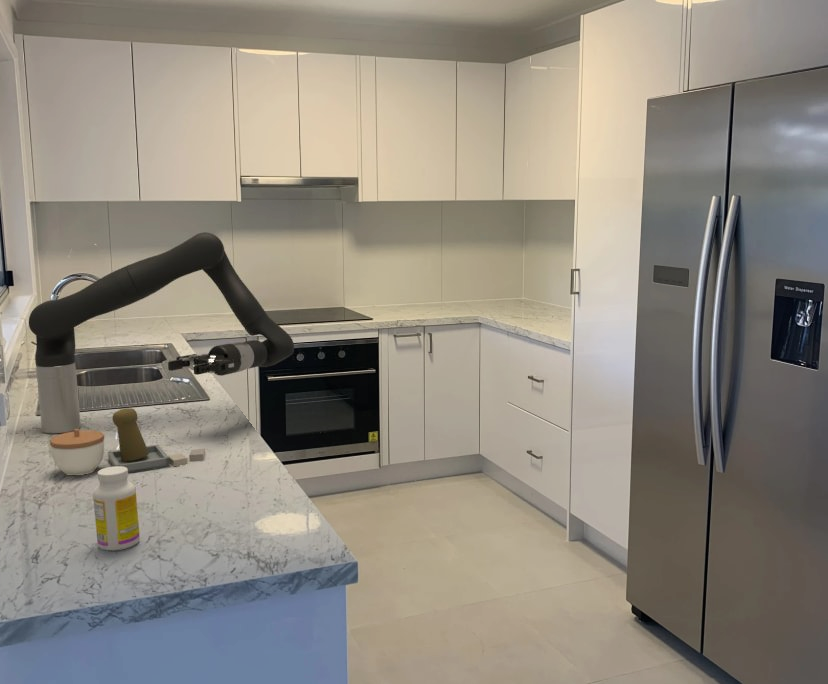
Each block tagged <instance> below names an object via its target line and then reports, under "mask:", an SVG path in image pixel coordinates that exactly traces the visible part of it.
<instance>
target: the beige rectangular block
mask: <svg viewBox="0 0 828 684" xmlns="http://www.w3.org/2000/svg"><path fill="white" fill-rule="evenodd" d="M188 457H189V462H202V461H203V460H205V457H206V449H205V448H201V449H199V448H196V449H191V450H190V452H189V454H188Z"/></svg>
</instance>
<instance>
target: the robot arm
mask: <svg viewBox="0 0 828 684" xmlns="http://www.w3.org/2000/svg"><path fill="white" fill-rule="evenodd" d="M198 271H203V272H204V273H205V274H206V275H207V276H208V277H209V279H211V281H213V283H214V284H215V286H216V287H217V288H218V290H219V291H220V293H221V295H222V297H224V299H225V301H226V302H227V304H228V307H230V309H231V311H232V312H233V314H234V316H235V317H236V318H237V320H238V321H239V323H240V324H241V325H242V327H243V329H244V330H245V331H246V333H248V335H250V336H252V337H253V336H258V335H261V336H263V338H266V339H264V340H263V341H260V340H256V339H253V340H247V341H241V342H240V341H236V342H230V343H224V344H219V345H215V346H213V347H212V348H211V349H210V350H209V352H208V353H201V354H197V353H193V354H192V353H191V354H188V355H187V354H186V355H181V356H176V359H174V360H169V361H168V363H167V367H168V368H167V370H168V371H170V372H172V371H177V370H184V369H190V370H191V371H193V374H194V375H195V376H196V375H197V376H198V375H199V376H200V375H203V374H215V375H217V376H219V377H221V376H227V375H231V374H235V373H236V374H237V373H239V372H243V371H245V370H249V369H253V368H257V367H258V368H268V367H271V366H275V365H276V364H278V363H281V362H282V361H284V360H286V359H287V358H289V357H290V356H292V355H293V354H294V352H295V342H294V341H293V338H292V337H291V336H290V335H289V333H288V332H287V331H286V330H284V329H283V328H282V327H281V326H280V325H279V324H277V323H276V322H275V321H274V320H273V319H272V318H271V317H269V315H268V313H267V312H266V311H265V309H264V308H263V306H262V305H261V304H260V302H259V300H258V299H257V298H256V297H255V295H254V294H253V293H252V291H251V290H250V288H248V286H247V285H246V284H245V283H244V281H243V280H242V279H241V278H240V276H239V274H237V272H236V270H235V268H234V267H233V265H232V263H231V260H230V259H229V257H228V255H227V253H226V251H225V245H224V244H223V241H222V240H221V239H220V238H219V237H218V236H217V235H216V234H213V233H211V232H200V233H197V234H195V235H193V236H192V237H190V238H188V239H187V240H185V241H183V242H182V243H180V244H178V245H176V246H174V247H172V248H171V249H169V250H167V251H164V252H161V253H159V254H157V255H153V256H150V257H147V258H143V259H141V260H138V261H135V262H133V263H131V264H128V265H127V264H126V266H123V267H120V268H119V269H117V270H114V271H112V272H110V273H108V274H106V275H104V276H102V277H101V278H99V279H97V280H96V281H93V283H91V284H89V285H88V286H86V287H84V288H83V289H80V290H79V291H76V292H75V293H72V294H70V295H68V296H65V297H61V298H58V299H54V300H46V301H44V302H41V303H40V304H38V305H36V306H35V307H34V308H33V309H32V311H31V313H30V314H29V317H28V327H29V329H30V331H31V332H32V333H33V334H34V335H35V341H36V348H35V354H34V359H35V360H34V361H35V370H36V378H37V389H38V390H37V391H38V393H37V394H38V401H39V411H40V424H41V431H42V432H43V433H45V434H63V433H68V432H73V431H74V429H79V430H80V428H81V416H80V415H81V414H80V404H79V403H80V402H79V391H78V379H77V366H76V356H75V355H76V333H75V332H76V331H75V327H77V326H79V325H81V324H83V323H84V322H87V321H89V320H92V319H93V318H96V317H99V316H102V315H104V314H108V313H111V312H114V311H117V310H120V309H123V308H124V307H127V306H130V305H132V304H134V303H137V302H139V301H141V300H144V299H145V298H148V297H150V296H152V295H154V294H155V293H157V292H159V291H160V290H161V289H163V288H165V287H167V286H169V284H171V283H172V282H174V281H175V280H178V279H180V278H182V277H184V276H188V275H190V274H193V273H195V272H198Z"/></svg>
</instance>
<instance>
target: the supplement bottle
mask: <svg viewBox="0 0 828 684" xmlns="http://www.w3.org/2000/svg"><path fill="white" fill-rule="evenodd" d="M128 477H129V474H128V469H127V468H126V467H122V466H115V467H112V466H108V467H103V468H102V469H100V470H98V471H97V480H98V482H99V484H98V485H97V486H96V487H95V488H94V490H93V493H92V496H93V497H92V499H93V507H94V510H93V511H94V518H95V519H94V520H95V529H96V531H95V532H96V538H97V539H96V540H97V546H98V547H99V548H100V549H101V550H104V551H108V550H112V551H111V552H114V551H121V550H122V551H123V550H126V549H129V548H132V547H133V546H135V545H137V543H138V542H140V541H139V540H140V538H141V537H140V525H139V524H140V523H139V512H138V501H137V491H136V486H135V484H134V483H132V481H129V480H128Z"/></svg>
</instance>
